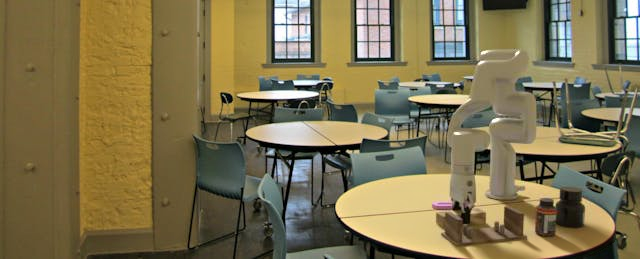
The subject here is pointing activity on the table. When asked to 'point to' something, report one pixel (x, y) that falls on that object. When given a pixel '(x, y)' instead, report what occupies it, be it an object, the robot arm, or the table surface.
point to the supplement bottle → (545, 217)
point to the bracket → (444, 205)
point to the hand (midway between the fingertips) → (461, 220)
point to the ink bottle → (570, 207)
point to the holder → (484, 229)
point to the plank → (475, 216)
